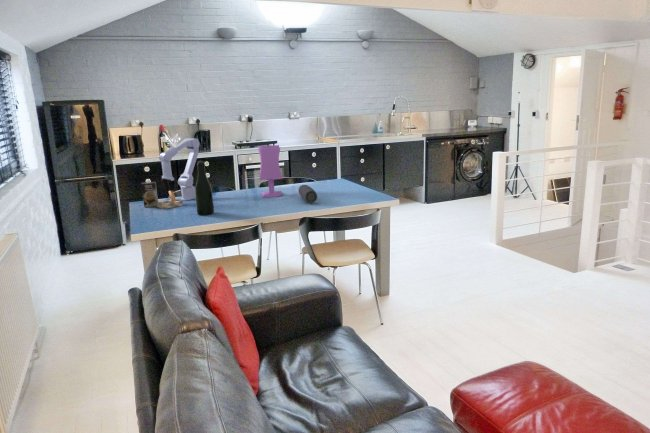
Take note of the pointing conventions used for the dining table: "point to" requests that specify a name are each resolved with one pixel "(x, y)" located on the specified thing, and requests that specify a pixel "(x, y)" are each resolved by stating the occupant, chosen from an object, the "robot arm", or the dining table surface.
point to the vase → (270, 168)
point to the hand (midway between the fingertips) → (169, 189)
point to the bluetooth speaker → (307, 193)
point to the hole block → (169, 204)
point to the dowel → (172, 196)
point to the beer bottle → (203, 192)
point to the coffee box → (149, 194)
